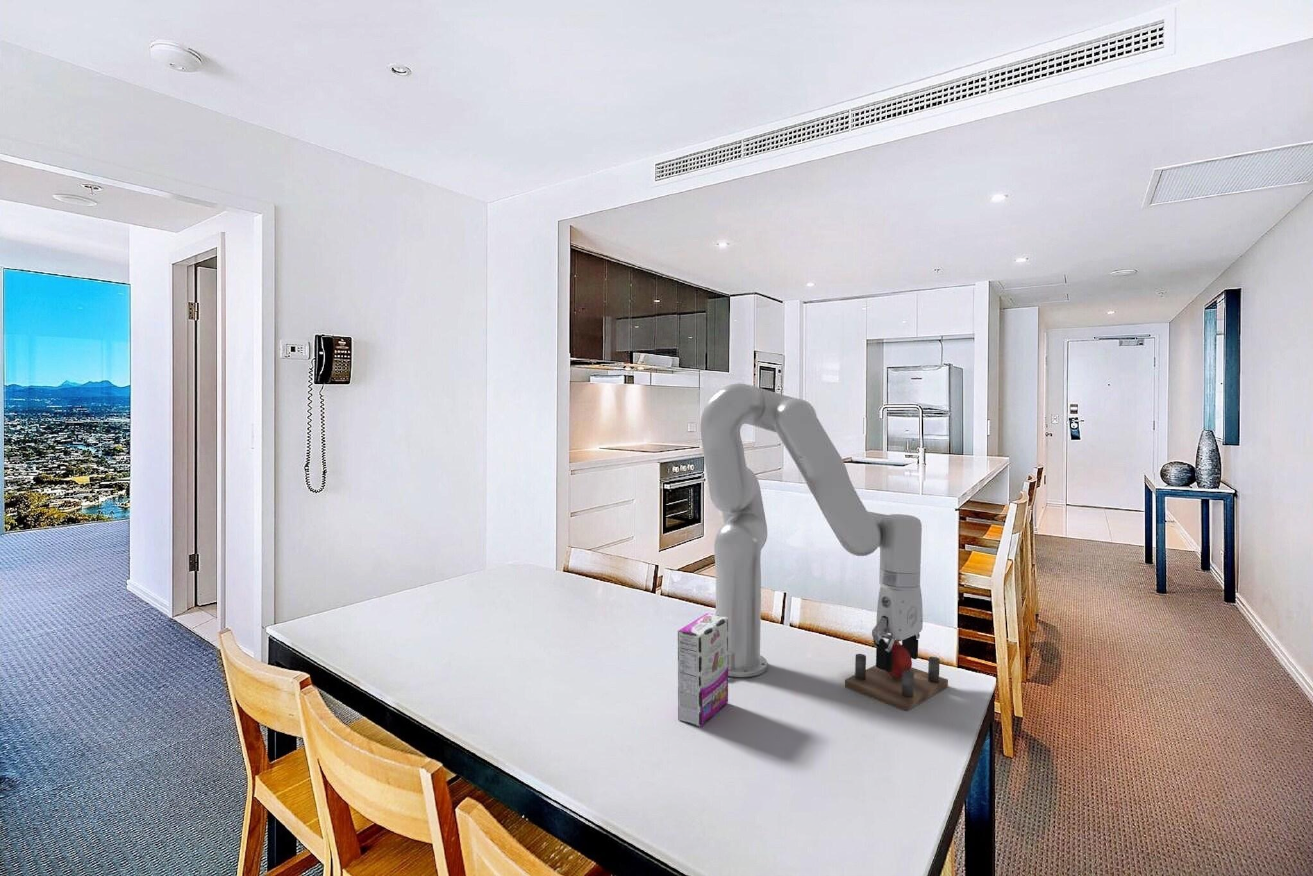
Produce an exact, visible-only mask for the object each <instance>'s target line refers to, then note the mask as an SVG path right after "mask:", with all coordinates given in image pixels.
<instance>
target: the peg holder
mask: <svg viewBox="0 0 1313 876" xmlns="http://www.w3.org/2000/svg"><path fill="white" fill-rule="evenodd" d="M885 642H886V644H887V643H888V641H885ZM940 660H941V659H940V658H939V657H936V656H929V657H928V667H927V668H928V671H924V670H921V669H918V668H915V667H912V666H911V669H910V670H903V673H902V677H901V678H900V679H898V680H897V679H894V678H893V677H892V676H891V675H890V674H888V673H887V672H886V671H885V670H882V669H879V668H877V667H876V664H875V665H873V666H871V667H869V668H867V656H866V655H865V654H863V653H856V654H855V661H854V662H855V663H854V675H851V676H850V677H848V678H845V679H844V687H845V688H847V689H849V688H850V689H849V690H851V689H852V690H851V691H854V692H857V693H859V694H862V695H865V696H867V695H868V696H867V697H869V696H870V698H872V697H873V698H872V699H874V698H875V699H874V700H877V699H878V701H879V702H882V701H883V702H882V703H885V704H888V705H890V706H892V707H896V708H898V709H901V710H902V711H905V712H908V711H909V710H911V709H913V708H914V706H915V707H916V706H918V705H919V704H921V703H923V702H924V701H926V700H928V699H930V698H931V696H932V697H933V696H934V695H936V694H938V693H940V692H942V691H943V690H945V689H948V687H949V679H948V678H944V677H941V676H940V666H941V665H940ZM866 668H867V669H866ZM929 697H930V698H929ZM917 704H918V705H917Z"/></svg>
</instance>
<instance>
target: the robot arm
mask: <svg viewBox="0 0 1313 876" xmlns="http://www.w3.org/2000/svg"><path fill="white" fill-rule="evenodd" d="M699 425H700V426H699V429H700V439H701V445H702V451H703V457H704V458H703V459H704V465H705V472H706V477H707V483H708V490H709V491H708V492H709V498H710V500H711V502H712V504H713V505H714V507H715V508H716V509H718V511H720V512H722V518H723V524H722V525H721V526H720V528H719V529H718V531H717V533H716V536H715V539H714V544H713V546H714V547H713V550H714V552H713V554H714V565H715V615H719V616H723V617H728V677H733V678H749V677H755V676H760V675H762V674H763V673H764V672H766V671H767V669H768V661H767V659H766V658H765V656H763V655H761V615H762V570H761V569H762V567H761V566H762V564H761V554H762V550H763V549H764V546H765V545H766V542H767V539H768V526H767V519H766V515H765V508H764V502H763V496H762V491H761V487H760V486H761V485H760V483H759V480H758V476H757V475H756V474H755V472H754V471H752V470H751V469H750V468H749V467H748V466H747V463H746V461H747V460H746V458H745V457H746V456H745V449H744V444H743V441H742V437H741V429H742V426H743V425H751V426H754V427H756V428H759V429H763V430H765V431H770V432H773V433H776V434H777V435H778V437H779V439H780V440H781V442H782V444H783V445H784V447H785V449H786V450H787V452H788V453H789V455H790V457H791V458H792V460H793V461H794V464H795V466H796V467H797V469H798V471H799V472H800V474H801V475H802V478H803V479H804V481H805V483H806V485H807V487H808V489H809V491H810V493H811V494H812V496H813V498H814V500H815V501H816V503H817V505H818V507H819V509H820V510H821V512H822V514H823V517H824V518H825V519H826V521H827V523H828V525H829V527H830V529H831V531H832V532H833V533H834V535H835V537H836V539H837V540H838V542H839V543H840V545H841V546H842V547H843V549H844V550H845V551H846V552H848V553H849V554H851V555H853V556H857V557H866V556H869V555H871V554H873V553H874V552H875V551H876V550H877V549H878V548H879V574H878V575H879V576H878V577H879V579H878V580H879V582H878V584H879V585H880V586H879V591H878V600H877V606H876V607H877V608H876V619H875V620H876V621H875V622H876V625H875V626H874V627H873V629H871V637H872V638H873V641H872V642H873V644H874V648H875V650H876V651H875V665H876V667H877V668H879V669H882V670H885V671H887V672H891V671H892V666H893V651H891V648H892V646H893V643H894V641H895V640H896V641H899V642H901V645H902V646H904V647H905V648H906V649H907V651H908V652H909V654H910V656H911V660H917V659H919V639H920V636H921V635H920V633H921V632H922V631H923V626H924V625H923V620H924V619H923V618H924V615H923V595H922V588H921V567H922V566H921V563H922V560H921V559H922V534H923V533H922V532H923V531H922V530H923V526H922V525H923V524H922V522H921V520H920V518H918V517H917V516H914V515H909V514H901V513H900V514H898V513H897V514H895V513H894V514H893V513H892V514H883V513H877V512H873V511H868V510H867V508H866V507H865V505H864V503H863V502H862V500H861V498H860V497H859V494H858V493H857V491H856V489H855V487H854V486H853V482H852V480H851V478H850V476H849V473H848V470H847V466H846V465H845V462H844V460H843V458H842V456H841V455H840V453H839V451H838V450H837V448H836V447H835V445H834V443H833V442H832V440H831V438H830V437H829V435H828V433H827V432H826V430H825V428H824V427H823V425H822V423H821V422H820V420H819V418H818V417H817V411H816V409H815V407H814V406H813V405H812V404H811V403H810V402H808V401H807V400H804V399H802V398H797V397H792V396H789V395H785V394H781V393H778V392H775V391H771V390H767V389H764V388H761V387H757V386H753V385H751V384H746V383H742V382H741V383H739V382H738V383H732V384H729V385H727V386H724V387H723V388H722V389H720V390H718V391H717V392H716V393H715V394H714V395H712V397H711V398H710V399H708V402H707V403H706V405H705V406H704V408H703V411H702V414H701V417H700V423H699ZM885 639H887V641H886V640H885ZM886 642H888V643H887V644H886Z"/></svg>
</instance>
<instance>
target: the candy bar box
mask: <svg viewBox="0 0 1313 876" xmlns="http://www.w3.org/2000/svg"><path fill="white" fill-rule="evenodd" d="M728 703H729V676H728V617H723V616H719V615H716V614H713V613H705V614H703V615H701V616H700V617H699V618H697V619H695V620H694V621H692V622H690V623H689V624H687V625H685V626H683V627H681V628H680V629H679V630H677V709H678V710H677V714H678V716H677V717H678V719H677V720H678V721H680V722H682V723H685V724H688V725H693V726H695V727H696V726H697V727H699V728H701V727H703V726H704V725H705V724H706V723H707V722H708V721H709V720H710V719H712V718H713V716H715V715H716V714H717V713H718V712H719V711H720V710H721V709H722V708H723V707H725V706H726V704H728Z"/></svg>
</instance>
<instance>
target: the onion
mask: <svg viewBox="0 0 1313 876" xmlns="http://www.w3.org/2000/svg"><path fill="white" fill-rule="evenodd" d="M891 651H893V666H892V671H891V672H887V671H886V672H887V673H888V674H890V675H891V676H892V677H893V678H894V679H897V680H898V679H900V678H901V677H902V673H903V670H910V669H911V667H912V666H913V661H912V660H913V659H912V658H911V656H910V654H909V652H908V651H907V649H906V648H905V647H904V646H902V643H900V641H896V639H895V641H894V643H893V646H892V648H891Z"/></svg>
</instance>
